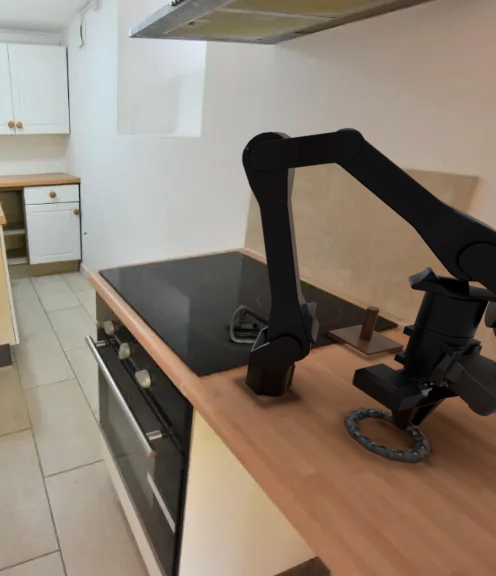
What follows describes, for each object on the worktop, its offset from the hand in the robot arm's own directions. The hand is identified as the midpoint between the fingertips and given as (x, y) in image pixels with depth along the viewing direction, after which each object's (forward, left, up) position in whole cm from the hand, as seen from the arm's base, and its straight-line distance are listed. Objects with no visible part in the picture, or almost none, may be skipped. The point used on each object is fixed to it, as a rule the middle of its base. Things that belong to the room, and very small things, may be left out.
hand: (407, 425), depth 53 cm
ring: (-4, 0, 0) cm, 4 cm away
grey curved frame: (-2, +30, -1) cm, 30 cm away
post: (+16, +20, -1) cm, 26 cm away
